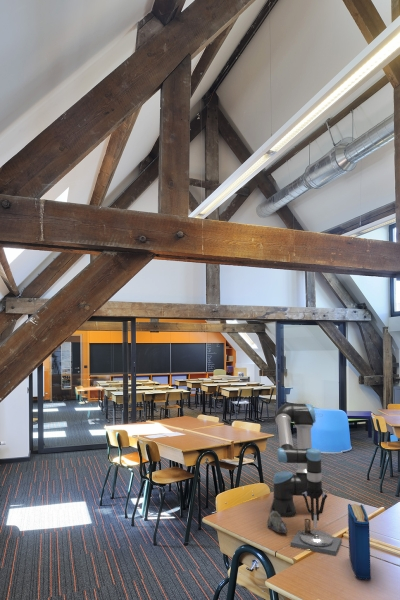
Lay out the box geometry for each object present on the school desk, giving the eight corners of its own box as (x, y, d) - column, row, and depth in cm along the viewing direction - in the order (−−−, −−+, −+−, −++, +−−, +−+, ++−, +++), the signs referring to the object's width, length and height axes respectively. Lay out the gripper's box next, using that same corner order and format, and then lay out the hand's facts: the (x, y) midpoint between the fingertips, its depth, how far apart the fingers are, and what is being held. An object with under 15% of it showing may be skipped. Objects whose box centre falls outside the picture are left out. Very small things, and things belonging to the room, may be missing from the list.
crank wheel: (293, 537, 225) (293, 521, 226) (316, 530, 233) (315, 515, 234) (316, 549, 212) (316, 532, 212) (339, 542, 220) (339, 526, 220)
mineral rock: (287, 537, 231) (287, 516, 232) (266, 535, 233) (266, 515, 234) (286, 527, 244) (286, 508, 245) (267, 526, 245) (266, 507, 246)
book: (373, 582, 186) (370, 520, 188) (355, 580, 187) (353, 519, 190) (364, 559, 207) (362, 503, 209) (348, 557, 208) (347, 502, 211)
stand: (298, 534, 235) (298, 529, 235) (341, 542, 225) (341, 537, 225) (290, 546, 219) (290, 541, 220) (335, 555, 210) (335, 550, 210)
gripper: (325, 478, 234) (326, 524, 232) (300, 477, 236) (301, 523, 233) (328, 482, 227) (329, 530, 224) (302, 481, 228) (303, 529, 226)
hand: (315, 526), depth 229 cm, fingers closed
